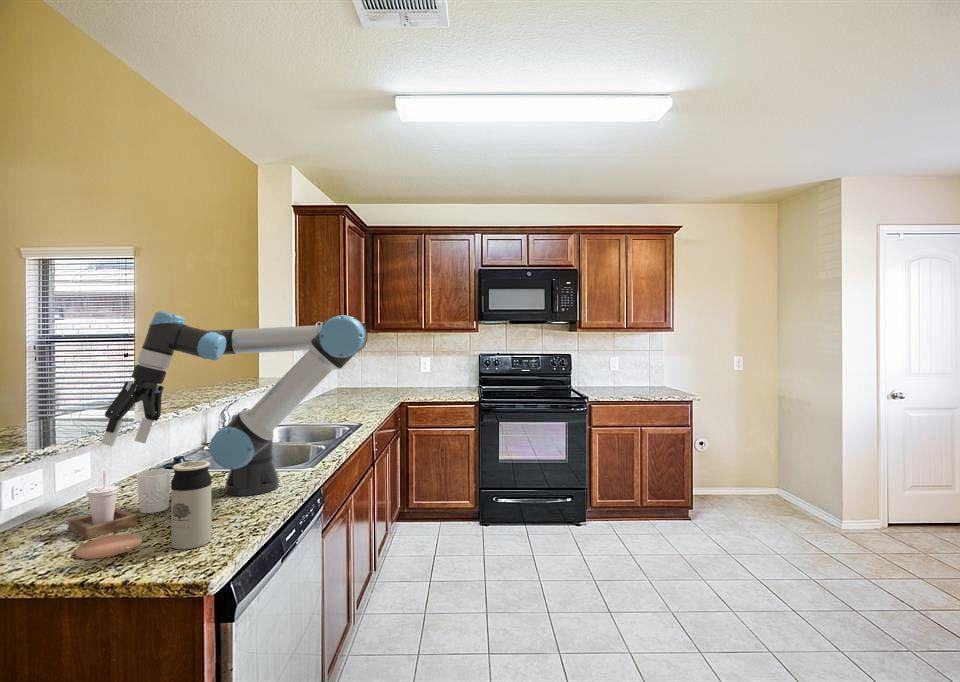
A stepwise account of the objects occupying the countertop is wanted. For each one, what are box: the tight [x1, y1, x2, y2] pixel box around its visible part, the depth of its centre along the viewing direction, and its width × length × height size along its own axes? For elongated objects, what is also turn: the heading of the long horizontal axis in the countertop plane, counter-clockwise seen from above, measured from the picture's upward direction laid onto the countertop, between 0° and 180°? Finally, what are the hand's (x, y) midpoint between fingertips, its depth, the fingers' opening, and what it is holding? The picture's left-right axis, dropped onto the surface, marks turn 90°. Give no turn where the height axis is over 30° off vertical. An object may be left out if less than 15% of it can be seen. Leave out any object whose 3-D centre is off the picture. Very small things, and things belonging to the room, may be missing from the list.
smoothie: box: [86, 470, 120, 526], centre depth 127 cm, size 6×6×14 cm
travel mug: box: [170, 460, 212, 550], centre depth 118 cm, size 8×8×18 cm
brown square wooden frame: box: [67, 507, 138, 540], centre depth 127 cm, size 10×10×2 cm
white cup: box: [136, 468, 172, 514], centre depth 141 cm, size 8×8×10 cm
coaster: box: [75, 533, 143, 560], centre depth 115 cm, size 12×12×1 cm
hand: (124, 443), depth 139 cm, fingers open, 13 cm apart
